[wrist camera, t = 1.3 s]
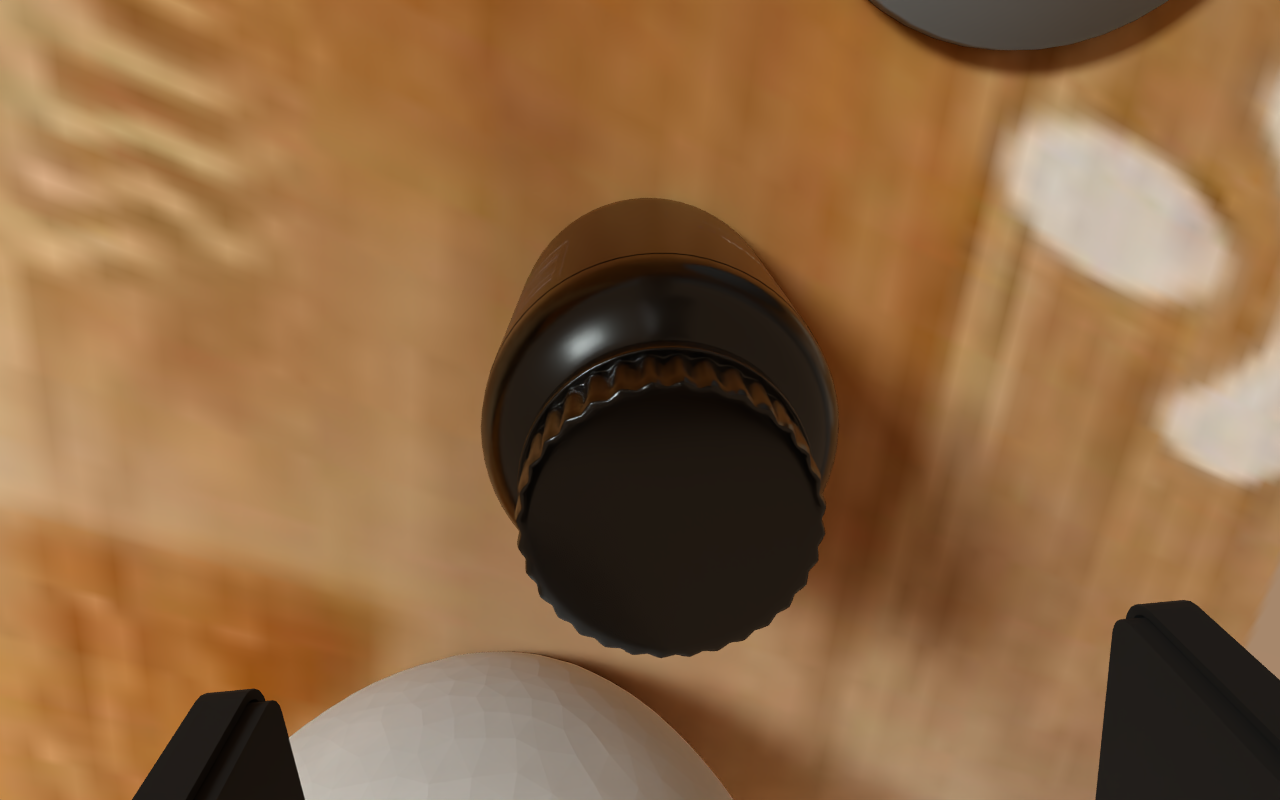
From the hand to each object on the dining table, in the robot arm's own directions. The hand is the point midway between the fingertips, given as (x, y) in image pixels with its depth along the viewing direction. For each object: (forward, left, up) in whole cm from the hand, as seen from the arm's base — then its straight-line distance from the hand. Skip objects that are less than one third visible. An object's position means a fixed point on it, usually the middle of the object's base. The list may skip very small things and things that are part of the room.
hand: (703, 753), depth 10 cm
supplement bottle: (-1, 0, -16) cm, 16 cm away
